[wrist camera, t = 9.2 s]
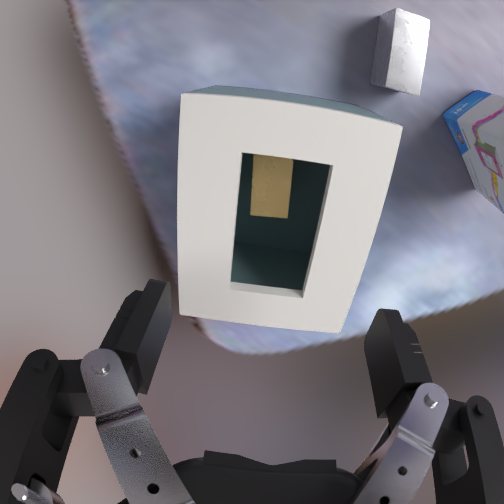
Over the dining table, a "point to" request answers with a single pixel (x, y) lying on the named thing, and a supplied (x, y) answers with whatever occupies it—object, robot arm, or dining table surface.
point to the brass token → (271, 186)
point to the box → (299, 212)
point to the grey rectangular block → (400, 51)
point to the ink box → (481, 141)
